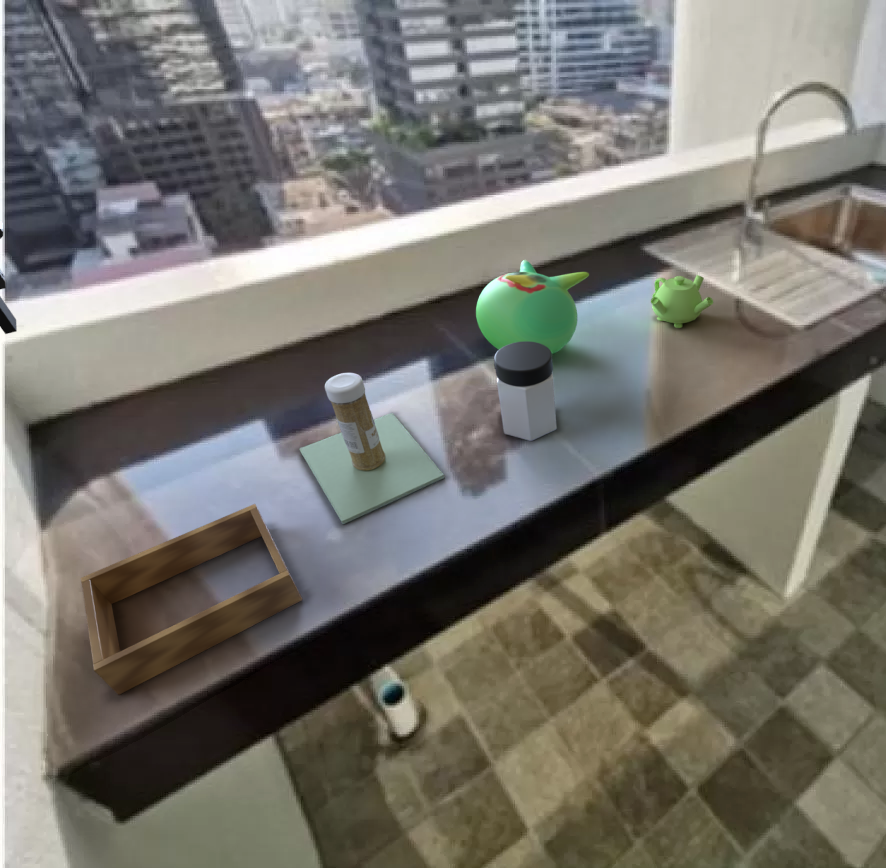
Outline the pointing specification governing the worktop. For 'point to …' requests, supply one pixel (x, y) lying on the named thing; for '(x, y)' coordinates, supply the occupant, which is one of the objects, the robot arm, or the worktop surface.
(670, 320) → the teapot
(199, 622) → the wooden tray
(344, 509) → the mat
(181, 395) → the worktop surface
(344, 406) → the spice bottle
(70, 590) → the worktop surface
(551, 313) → the toy bird
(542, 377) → the jar
